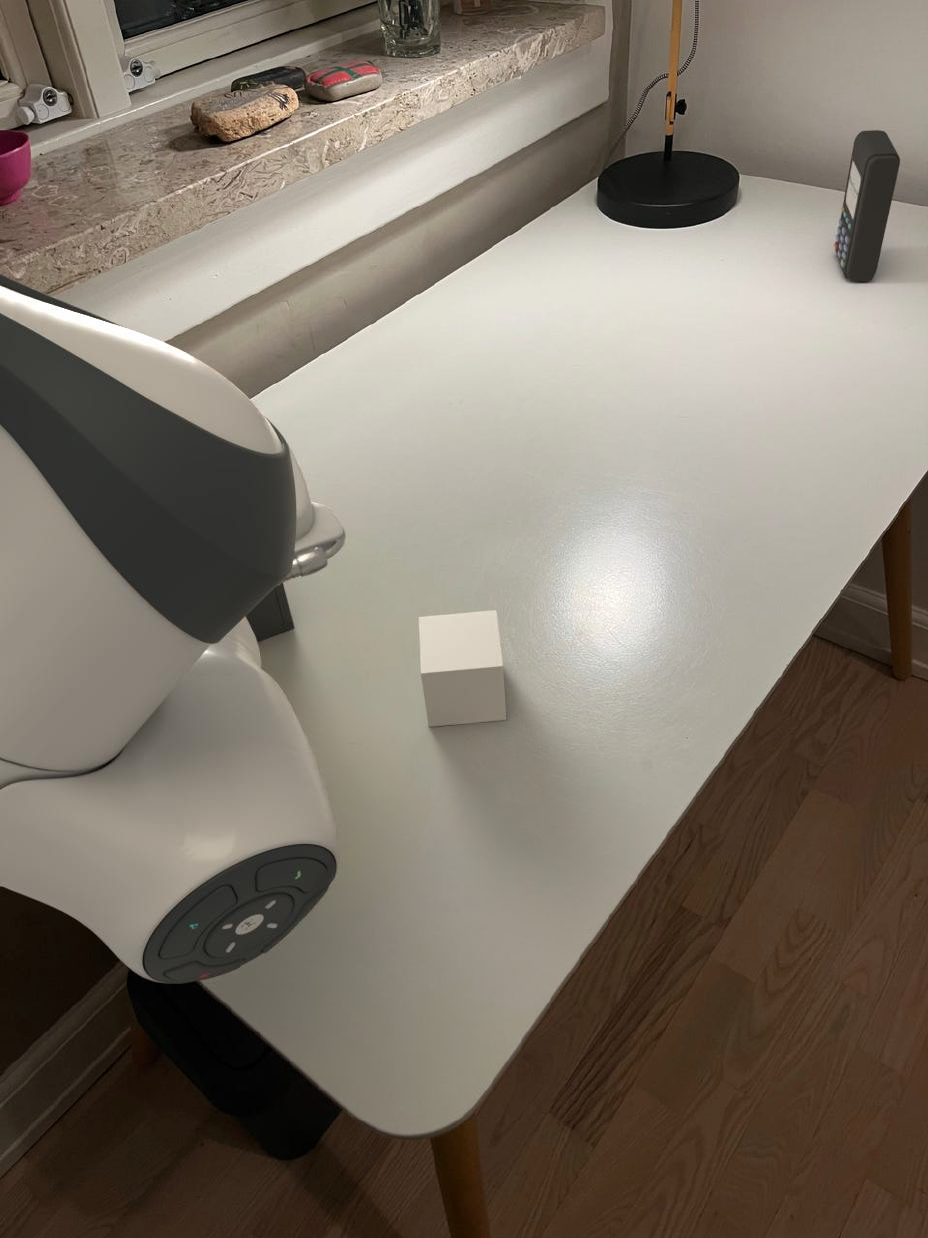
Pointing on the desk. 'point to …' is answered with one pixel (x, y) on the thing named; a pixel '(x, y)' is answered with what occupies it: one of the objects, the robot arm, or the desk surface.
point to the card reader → (866, 204)
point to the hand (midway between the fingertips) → (75, 472)
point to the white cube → (462, 668)
